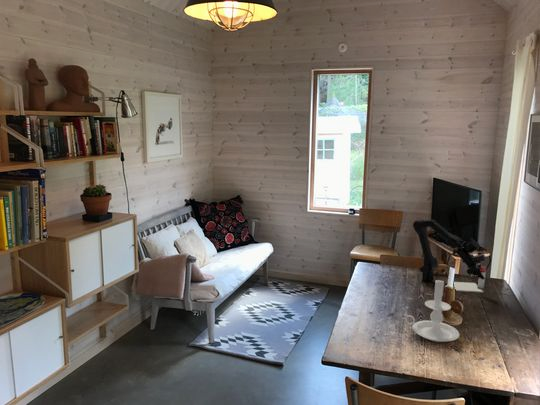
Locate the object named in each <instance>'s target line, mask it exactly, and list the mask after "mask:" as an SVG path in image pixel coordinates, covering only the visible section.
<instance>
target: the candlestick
mask: <svg viewBox="0 0 540 405" xmlns="http://www.w3.org/2000/svg"><path fill="white" fill-rule="evenodd" d="M434 283H435V284H434V296H433V299H431V300H426V301H425V302H424V305H425V306H426V307H427V308H429V309H431V310H432V312H431V313H430V314H429V317H430V320H420V321H417V322H416V319H415V317H414V316H413V315H410V314H409V315H408V314H406V313H404V314H403V316H405V317H404V323H406V325H407V327H408V329H409V330H413V331H414V333H416V334H417V335H419V336H420V337H422V338H424V339H426V340H427V341H432V342H435V343H447V342H452V341H456V340H457V339H459V338H460V332H459V331H458V329H457V328H455V327H454V326H452V325H449V324H447V323H445V322H443V321H444V315H443V313H442V312H443V311H449V310H451V308H452V306H451V305H450V304H449V303H447V302H444V301H442V299H443V297H444V289H445V288H444V287H445V281H444V280H440V279H437V280H435V282H434ZM408 318H411V319H412V320H413V321H412V322H408V320H407V319H408ZM411 326H412V327H411Z"/></svg>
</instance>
